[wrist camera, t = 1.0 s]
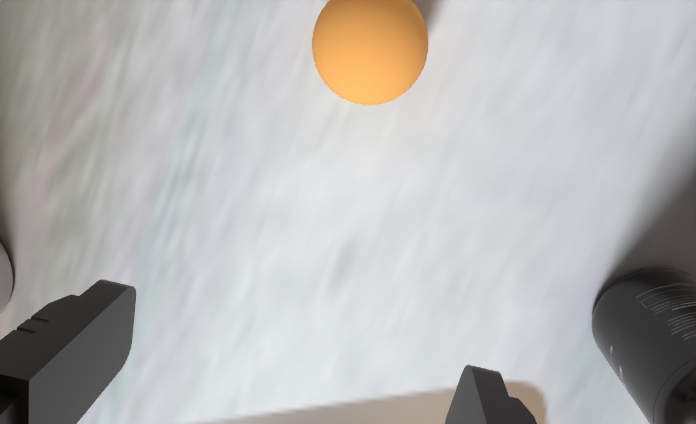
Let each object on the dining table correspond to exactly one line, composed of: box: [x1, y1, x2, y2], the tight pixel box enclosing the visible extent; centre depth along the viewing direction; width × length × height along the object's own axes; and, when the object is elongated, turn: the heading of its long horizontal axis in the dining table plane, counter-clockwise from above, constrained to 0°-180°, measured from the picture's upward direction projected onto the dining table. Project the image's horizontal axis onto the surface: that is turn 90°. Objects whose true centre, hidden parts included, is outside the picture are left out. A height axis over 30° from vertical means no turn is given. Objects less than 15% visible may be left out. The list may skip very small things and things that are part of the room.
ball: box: [312, 0, 428, 105], centre depth 24 cm, size 6×6×6 cm
